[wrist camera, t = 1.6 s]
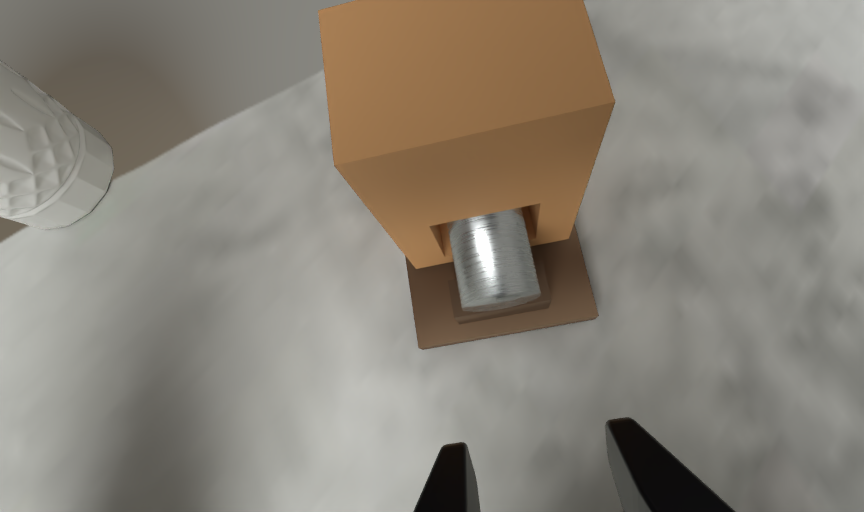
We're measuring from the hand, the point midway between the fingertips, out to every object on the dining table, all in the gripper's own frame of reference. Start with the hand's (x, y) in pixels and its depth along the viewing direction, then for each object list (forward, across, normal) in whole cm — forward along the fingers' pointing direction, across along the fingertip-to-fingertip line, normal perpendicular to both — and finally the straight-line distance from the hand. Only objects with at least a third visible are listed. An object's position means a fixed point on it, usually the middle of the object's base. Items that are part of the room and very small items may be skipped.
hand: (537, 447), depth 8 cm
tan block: (+15, 0, +2) cm, 15 cm away
